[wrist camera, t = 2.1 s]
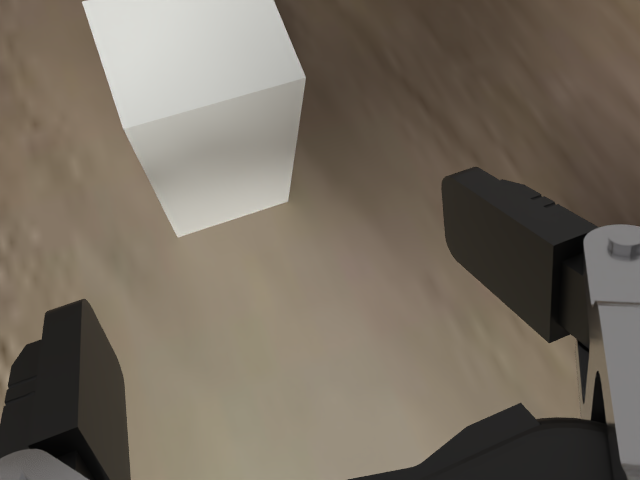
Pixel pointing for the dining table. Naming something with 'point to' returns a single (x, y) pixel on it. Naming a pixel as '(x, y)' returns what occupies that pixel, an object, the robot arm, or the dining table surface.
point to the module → (204, 101)
